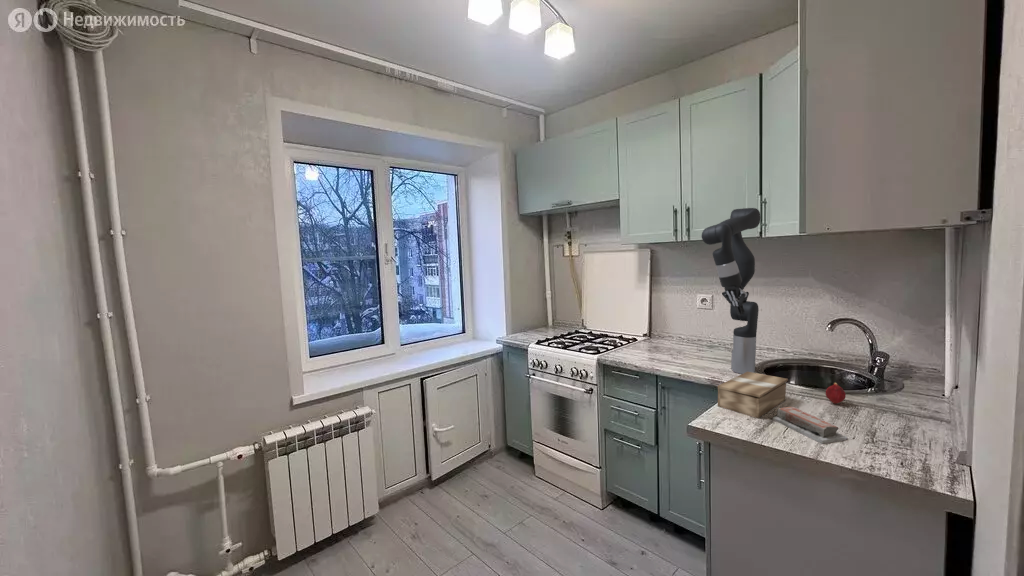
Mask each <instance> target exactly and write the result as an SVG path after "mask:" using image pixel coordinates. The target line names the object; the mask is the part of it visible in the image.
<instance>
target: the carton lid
mask: <svg viewBox="0 0 1024 576" xmlns="http://www.w3.org/2000/svg"><path fill="white" fill-rule="evenodd" d="M788 381H789V379H788V378H785V377H779V376H774V375H769V374H762V373H757V372H755V373H753V372H745V373H743V374H739V375H738V376H735V377H733V378H731V379H728V380H726V381H725V382H723V383H721V384H717V389H718V388H720V389H724V390H729V391H733V392H738V393H742V394H747V395H751V396H755V397H762V396H763V395H765V394H767V393H768V392H770V391H772V390H773V389H775V388H777V387H778V386H780V385H782V384H784V383H787V382H788Z"/></svg>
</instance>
